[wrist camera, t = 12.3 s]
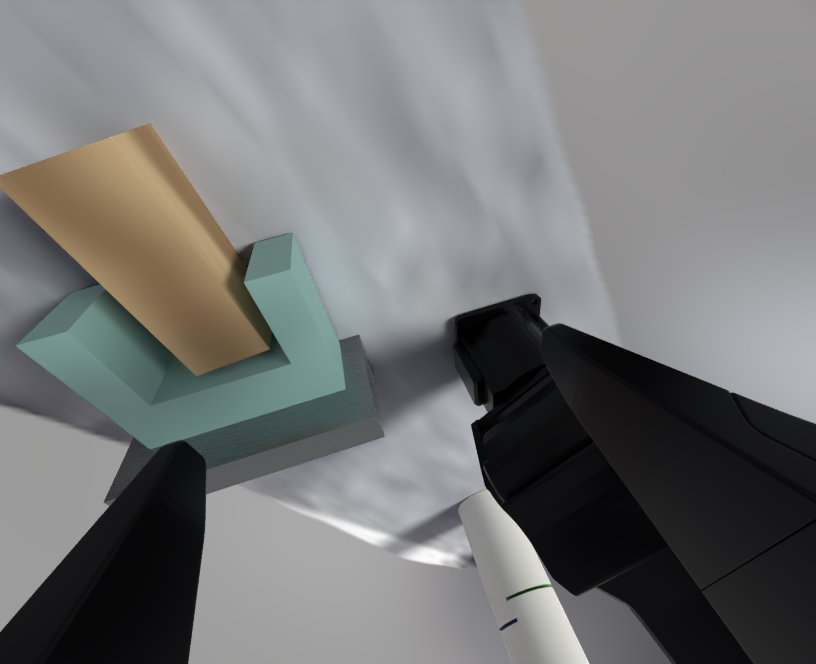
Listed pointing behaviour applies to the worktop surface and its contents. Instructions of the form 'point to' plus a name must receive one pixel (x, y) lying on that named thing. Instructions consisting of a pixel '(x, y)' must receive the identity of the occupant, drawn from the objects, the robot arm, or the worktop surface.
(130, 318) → the slot block
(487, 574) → the cylindrical container
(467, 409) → the worktop surface
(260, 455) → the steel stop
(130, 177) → the oak peg
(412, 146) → the worktop surface
